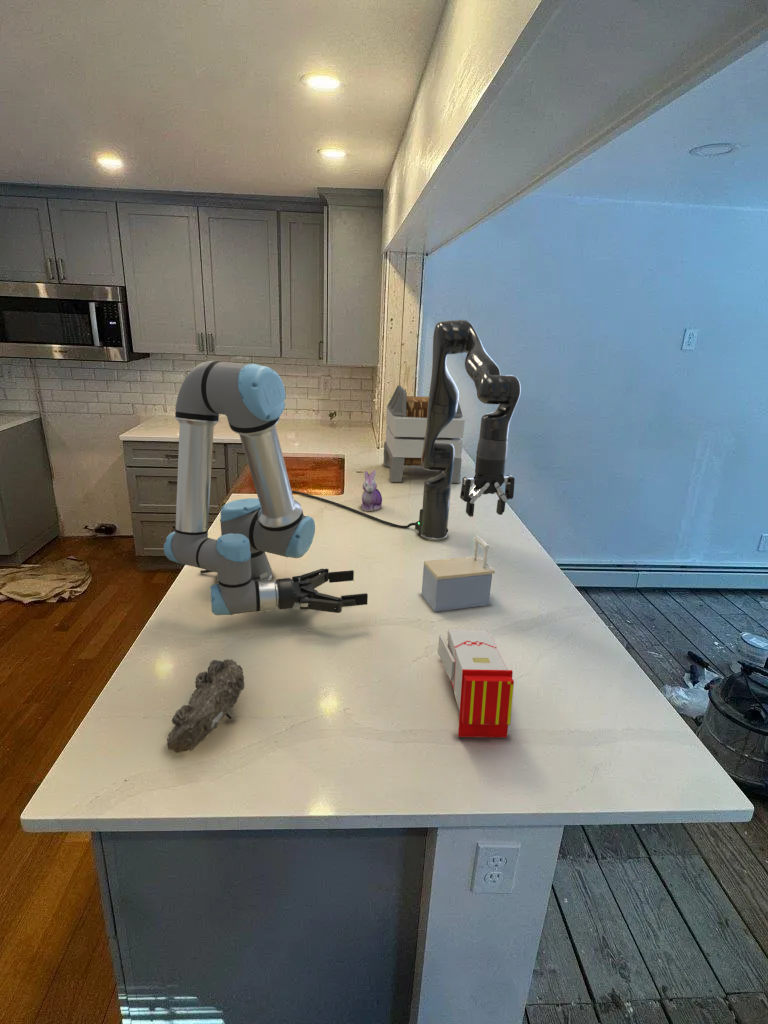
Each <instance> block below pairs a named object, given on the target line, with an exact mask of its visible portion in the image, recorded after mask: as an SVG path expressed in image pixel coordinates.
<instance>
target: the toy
mask: <svg viewBox="0 0 768 1024" xmlns="http://www.w3.org/2000/svg"><path fill="white" fill-rule="evenodd" d="M446 640H447V643H446V641H445V639H444V636H443V635H442V634H439V637H438V646H437V656H438V657H439V659H440V661H441V663H442V666H443V668H444V670H445V672H446V674H447V677H448V679H449V681H450V684H451V687H452V690H453V693H454V697H455V701H456V705H457V708H458V711H459V714H458V715H459V716H458V730H457V731H458V732H457V737H458V738H508V731H509V726H510V725H511V717H512V707H513V697H514V696H513V695H514V684H515V680H514V679H513V673H514V671H513V670H512V669H508V667H507V665H506V662H505V661H504V659H503V658H502V655H501V653H500V651H499V649H498V647H497V643H496V639H495V637H494V635H493V634H491V632H490V631H489V629H467V628H466V629H465V628H463V629H461V628H460V629H459V628H448V630H447V639H446Z"/></svg>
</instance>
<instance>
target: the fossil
mask: <svg viewBox="0 0 768 1024" xmlns="http://www.w3.org/2000/svg"><path fill="white" fill-rule="evenodd" d="M243 670H244V669H243V667H242V665H240V664H237V662H236V661H235V660H234V659H232V658H231V659H227V658H226V659H224V660H223V661H222V660H217V659H212V660H211V661H210V663H209V665H208V666H207V671H201V672H199V673H198V674H197V675H196V676H195V680H194V684H195V685H194V687H195V689H194V690H193V693H192V694H191V697H190V698H189V700H188V704H184V705H182V706H181V707H180V709H177V710H176V711H175V713H174V715H173V716H172V718H171V723H172V724H173V727H172V730H171V731H170V732H168V734H167V738H166V741H167V742H166V745H167V749H168V750H169V751H173V752H174V753H176V754H178V753H182V752H188V751H189V752H192V751H193V750H195V748H196V747H197V746H199V744H200V743H201V742H203V741H204V740H205V739H206V738H207V737H208V736H209V735H210V734H211V733H212V732H214V730H215V729H217V727H218V726H219V724H220V722H221V721H222V720H223V719H224V718H225V716H226V717H227V719H229V720H233V717H232V715H230V714H229V710H230V709H231V708H234V706H235V704H236V703H237V702H238V699H239V697H240V695H241V693H242V691H243V690H245V689H244V688H245V675H244V671H243Z"/></svg>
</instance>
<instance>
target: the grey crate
mask: <svg viewBox="0 0 768 1024" xmlns="http://www.w3.org/2000/svg"><path fill="white" fill-rule="evenodd" d="M407 394H408V393H407V390H406V389H404V388H403V387H402V385H399V384H398V385H397V386H396V388H395V390H394V392H393V394H392V395H391V398H390V400H389V402H388V404H387V405H386V413H385V414H386V415H385V423H386V428H385V438H384V442H383V466H384V467H388V468H389V475H388V476H389V477H388V478H389V480H390V482H391V483H402V482H403V475H404V469H405V466H406V467H407V466H411V467H412V466H413V467H415V466H416V467H417V466H418V467H422V463H421V456H422V449H423V443H424V438H425V432H426V424H427V411H428V399H429V396H415V395H414V396H413V395H412V396H411V395H407ZM464 429H465V419H464V418H463V411H462V408H461V405H460V401H458V407H457V413H456V415H455V417H454V418H453V419H452V421H451V422H450V423H449V424H448V425H447V426H446V427H445V428H444V429H443V430H442V431H441V432H440V434H439V435H438V437H437V438H436V440H435V443H448V444H452V445H453V446H454V449H455V458H454V465H453V472H452V481H451V484H455V483H456V484H459V483H461V472H462V461H463V460H462V453H463V442H464V441H463V440H462V439H463V438H464V431H465V430H464ZM441 472H442V471H439V473H441Z"/></svg>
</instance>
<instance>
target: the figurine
mask: <svg viewBox="0 0 768 1024" xmlns="http://www.w3.org/2000/svg"><path fill="white" fill-rule="evenodd" d="M363 474H364V475H363V476H364V481H363V483H362V490H363V492H362V495H361V502H362V503H361V506H360V507H361V509H362V511H365V512H366V511H367V512H372V511H378V510H380V509H381V508H382V503H383V496H382V493H381V491H380V490H379V489H378V488H377V487H378V485H377V482H376V479H375V478H376V474H377V470H375V469H374V470H372V472H371V473H370V474H369V472H368V471H367V470H365V471H364V473H363Z"/></svg>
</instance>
